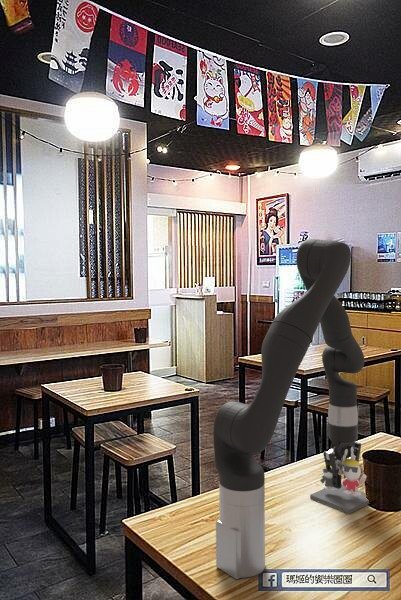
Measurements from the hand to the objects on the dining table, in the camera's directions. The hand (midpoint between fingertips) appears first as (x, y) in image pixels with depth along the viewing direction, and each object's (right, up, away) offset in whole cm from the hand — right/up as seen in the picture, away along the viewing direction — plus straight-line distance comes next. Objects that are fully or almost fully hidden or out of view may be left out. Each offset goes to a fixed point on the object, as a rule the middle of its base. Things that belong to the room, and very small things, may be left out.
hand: (342, 484), depth 134 cm
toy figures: (0, -2, 0) cm, 2 cm away
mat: (0, -4, 0) cm, 4 cm away
